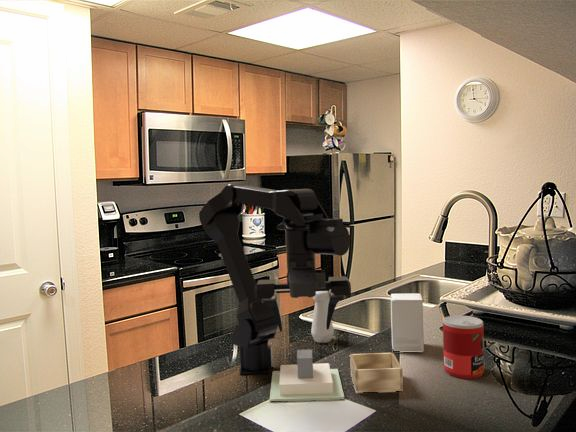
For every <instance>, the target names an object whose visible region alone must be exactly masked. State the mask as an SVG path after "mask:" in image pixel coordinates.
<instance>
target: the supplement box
mask: <svg viewBox="0 0 576 432" xmlns="http://www.w3.org/2000/svg"><path fill="white" fill-rule="evenodd" d="M390 321H391V322H390V324H391V325H390V326H391V328H390V329H391V346H392V347H391V350H392V349H393V350H394V351H424V352H425V342H424V341H425V339H424V338H425V336H424V301H423V297H422V295H421V293H412V292H411V293H391V294H390ZM393 350H392V351H393Z"/></svg>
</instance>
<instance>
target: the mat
mask: <svg viewBox="0 0 576 432" xmlns="http://www.w3.org/2000/svg"><path fill="white" fill-rule="evenodd" d="M330 371H331V377H332V382H333V393H319V394H291V395H280V391H279V381H280V370H273V371H272V373H271V374H272V375H271V384H270V391H269V392H270V393H269V402H270V401H288V402H312V401H311V400H316V401H338V400H339V401H340V399H344V400H345V394H344V391H343V386H342V381H341V378H340V377H341V376H340V374H339V370H338V368H330Z"/></svg>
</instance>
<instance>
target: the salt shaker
mask: <svg viewBox="0 0 576 432" xmlns="http://www.w3.org/2000/svg"><path fill="white" fill-rule="evenodd" d="M327 295H328V291H316V295H315V296H314V297H312V299H313V301H315V303H314V309H313V315H312V321H311V322H312V323H311V330H310V334H311V336H312V338H313V340H314V342H317V343H318V344H326V343H329V342H331V341H332V339H333V336H334V325H333V321H332V320H331V323H330V326H329V329H328V330H327V329H326V310H327Z"/></svg>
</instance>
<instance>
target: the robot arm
mask: <svg viewBox="0 0 576 432" xmlns="http://www.w3.org/2000/svg"><path fill="white" fill-rule="evenodd" d="M245 205H248V206H253V207H258V208H264V209H269V210H271V211H273V213H274V214H276V216H279V217H282V218H283V219H282V221H281V222H280V223H279V224H277V226H276V229H277V230H280V231H284V232H285V233H284V234H285V250H286V251H285V253H286V270H287V273H286V283H276V279H274V278H273V279H259V280H257V281H256V279H255V277H254V275H253V272H252V269H251V266H250V264H249V262H248V258H247V257H246V254H245V251H244V248H243V246H242V244H241V241H240V238H239V234H238V233H239V228H240V224H241V223H240V219H239V217H240V216H241V214H242V213H243V212H244V209H245ZM198 217H199V222H200V224H201V226H202V229H203V231H204V232H205V234H206V236H208V237H209V238H210V239H211V240H213V241H214V242H215V243H216V244H217V246H218V247H217V248H218V251H219V252H220V255H221V257H222V260H223V262H224V265H225V268H226V271H227V273H228V276H229V278H230V282H231V284H232V288H233V289H234V293H235V294H236V298H237V300H238V306H237V311H236V318H237V323H238V324H237V326H236V327H235V329H234V330H233V332H232V333H231V334H230V338H231V341H232V344H233V345H234V346H238V347H239V361H240V363H239V365H240V368H239V374H240V375H255V374H256V375H257V374H269V373H270V370H271V368H272V367H273V350H272V348H273V347H272V345H271V344H269V343H270V340H273V339H276V334H277V331H278V329H279V331H280V332H281V333H282V332H283V318H282V314H281V307H280V302H279V301H280V300H279V296H278V294H286V293H287V294H289V296H290V297H291V298H294V299H298V298H305V297H307V298H313V297H314V296H315V295H316V291H328V295H327V310H326V329H327V330H328V329H329V326H330V323H331V321H332V318H333V315H334V311H335V308H336V306H337V305H338V304H339V301H340V300H342V301H343V300H344V299H345V296H351V295H352V285H351V282H350V280H349V278H347V276H345V275H343V276H342V275H341V276H328V281H326V279H327V278H326V270H325V269H321V268H319V269H317V265H316V263H317V262H316V255H317V254H318V255H331V256H344V255H345V254H347V252H348V251H349V249H350V245H351V242H352V241H351V240H352V239H351V234H350V232H349V230H348V228H347V227H346V225H344V219H343V218H330V217H329V216H328V214H327V213H326V211H325V210H324V208H323V206H322V204H321V203H320V201H319V200H318V198H317V195H316V193H315V191H314V190H313V189H311V188H300V189H299V188H298V189H297V188H295V189H282V190H276V189H270V188H265V187H258V186H250V185H246V184H244V183H234V184H233V183H232V184H230V183H229V184H227V185H226V186H224V188H223V189H222V190H221V191H220V192H219V193H218V194H216V195H215V196H213V197H211V198H210V199H209V200H208V201H207V202H206V203H205V204H204V206H203V207H201V210H200V212H199V215H198Z"/></svg>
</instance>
